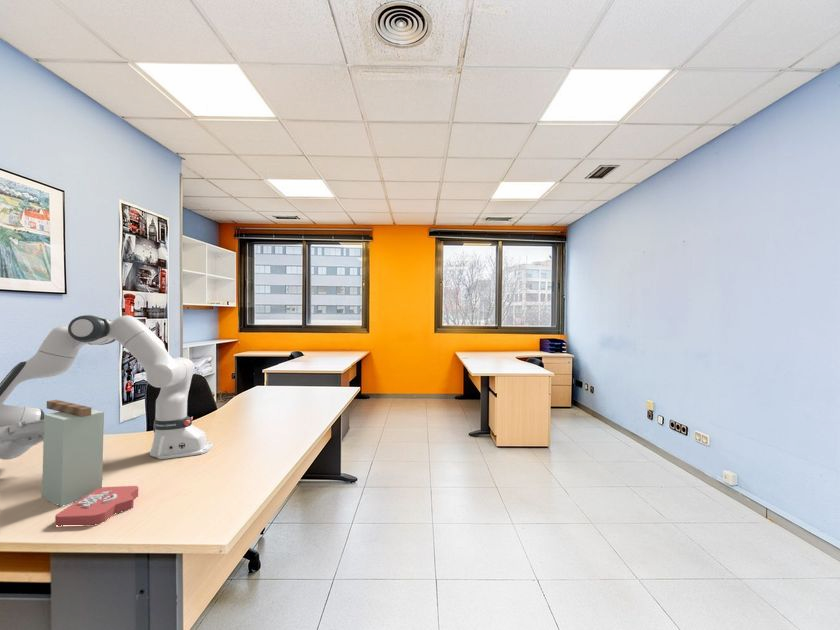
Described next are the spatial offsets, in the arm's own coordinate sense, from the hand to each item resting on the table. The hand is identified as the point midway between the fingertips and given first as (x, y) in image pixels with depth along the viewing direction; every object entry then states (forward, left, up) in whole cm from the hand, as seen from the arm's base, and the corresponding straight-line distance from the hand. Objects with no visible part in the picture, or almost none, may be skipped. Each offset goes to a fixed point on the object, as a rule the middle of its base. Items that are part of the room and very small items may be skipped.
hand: (41, 420), depth 125 cm
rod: (-13, +11, +5) cm, 18 cm away
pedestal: (-17, +14, -21) cm, 30 cm away
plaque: (-31, +26, -22) cm, 46 cm away
